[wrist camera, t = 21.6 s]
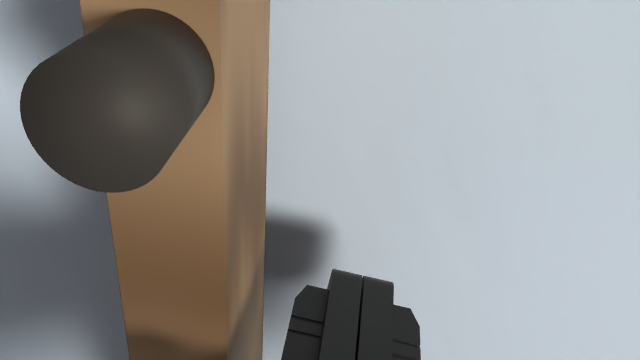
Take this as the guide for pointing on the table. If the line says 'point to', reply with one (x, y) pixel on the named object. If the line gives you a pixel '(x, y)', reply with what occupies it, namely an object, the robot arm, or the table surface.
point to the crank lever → (169, 162)
